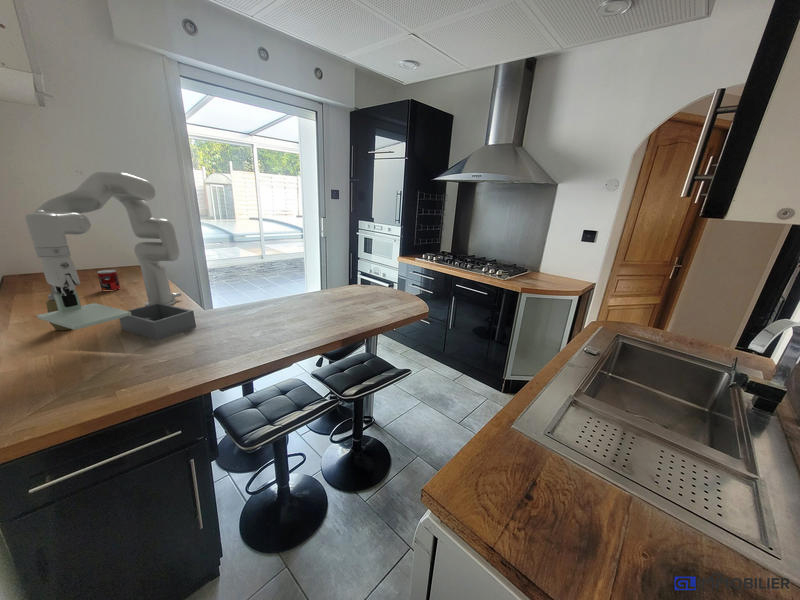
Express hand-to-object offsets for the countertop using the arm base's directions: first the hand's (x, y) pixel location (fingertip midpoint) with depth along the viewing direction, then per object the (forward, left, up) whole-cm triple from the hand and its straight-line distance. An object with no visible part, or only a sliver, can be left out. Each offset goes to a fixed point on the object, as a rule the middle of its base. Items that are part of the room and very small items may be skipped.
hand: (68, 305), depth 106 cm
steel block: (-18, +5, -15) cm, 24 cm away
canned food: (-45, -74, -16) cm, 88 cm away
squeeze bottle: (-6, -25, -16) cm, 30 cm away
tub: (-21, +9, -16) cm, 28 cm away
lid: (0, +9, -3) cm, 10 cm away
